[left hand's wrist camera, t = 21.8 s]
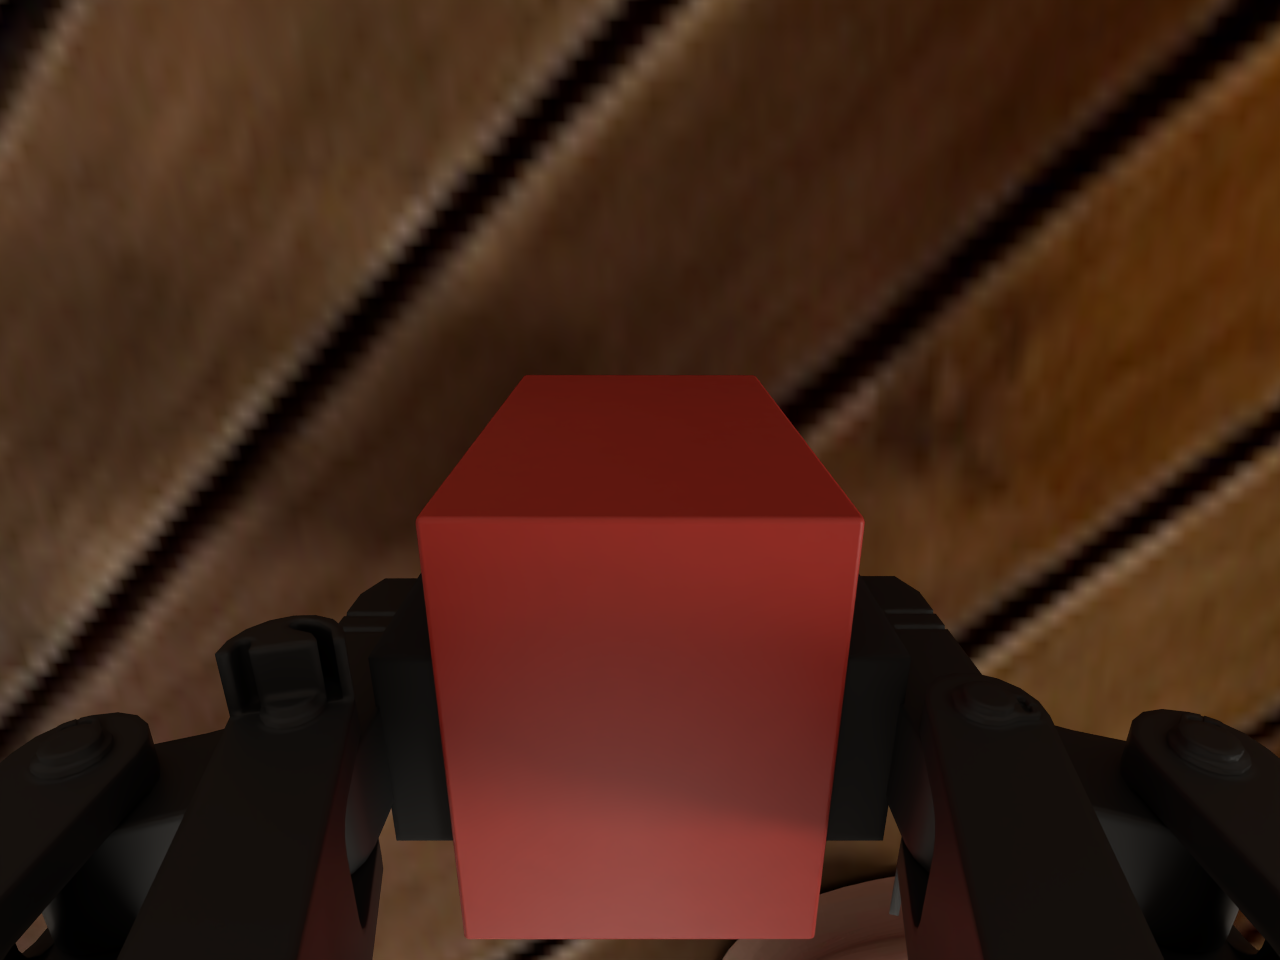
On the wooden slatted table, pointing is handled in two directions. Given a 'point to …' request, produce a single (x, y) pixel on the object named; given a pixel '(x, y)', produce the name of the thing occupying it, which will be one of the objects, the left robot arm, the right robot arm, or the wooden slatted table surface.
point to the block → (639, 660)
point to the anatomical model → (840, 929)
